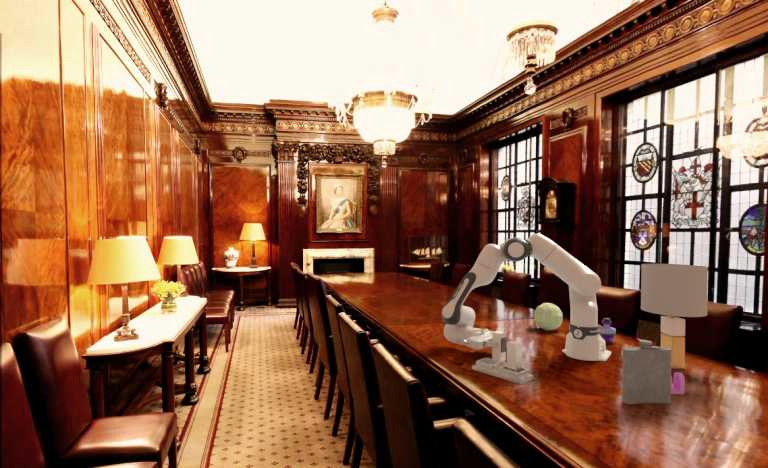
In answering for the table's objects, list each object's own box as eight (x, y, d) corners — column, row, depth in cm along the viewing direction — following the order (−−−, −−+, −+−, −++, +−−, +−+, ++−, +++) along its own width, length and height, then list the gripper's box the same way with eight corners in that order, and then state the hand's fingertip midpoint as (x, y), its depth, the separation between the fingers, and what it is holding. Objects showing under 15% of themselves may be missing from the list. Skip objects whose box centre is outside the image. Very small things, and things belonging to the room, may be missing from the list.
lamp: (721, 375, 164) (722, 268, 164) (662, 374, 165) (663, 268, 164) (680, 357, 187) (682, 263, 187) (629, 357, 187) (629, 263, 187)
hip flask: (626, 404, 136) (626, 342, 136) (618, 399, 140) (618, 339, 140) (673, 403, 137) (673, 342, 137) (664, 398, 141) (664, 339, 141)
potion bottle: (619, 344, 209) (620, 320, 209) (602, 344, 209) (602, 320, 209) (610, 339, 217) (611, 316, 217) (593, 339, 217) (594, 316, 217)
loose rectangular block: (497, 357, 186) (497, 330, 186) (506, 360, 182) (506, 332, 182) (492, 359, 183) (492, 332, 183) (501, 362, 180) (501, 334, 179)
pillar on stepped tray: (484, 365, 176) (484, 332, 176) (533, 379, 159) (533, 343, 159) (471, 369, 170) (472, 336, 170) (521, 384, 154) (521, 347, 154)
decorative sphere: (529, 327, 245) (529, 301, 245) (553, 326, 247) (554, 301, 246) (541, 333, 230) (542, 306, 230) (567, 332, 232) (568, 305, 232)
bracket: (684, 394, 145) (684, 374, 145) (667, 394, 146) (668, 374, 145) (661, 381, 158) (661, 362, 158) (646, 380, 158) (646, 362, 158)
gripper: (460, 334, 186) (486, 340, 175) (487, 327, 199) (513, 333, 189) (460, 349, 186) (486, 356, 175) (487, 340, 199) (513, 347, 189)
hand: (500, 344), depth 182 cm, fingers open, 5 cm apart
